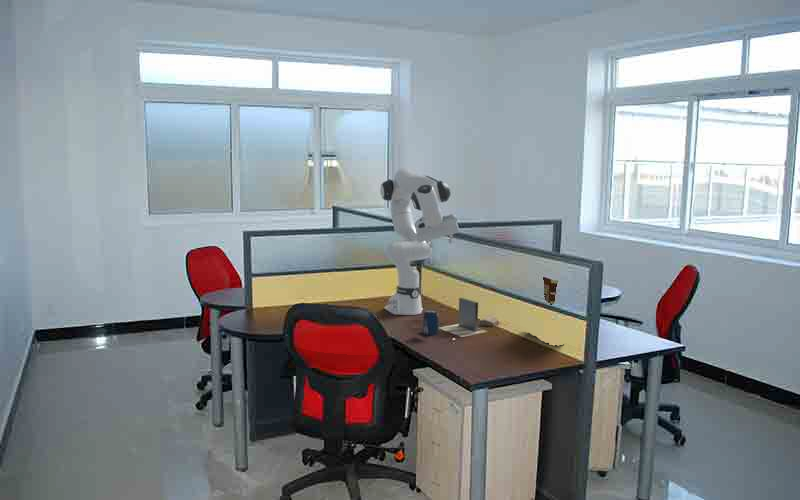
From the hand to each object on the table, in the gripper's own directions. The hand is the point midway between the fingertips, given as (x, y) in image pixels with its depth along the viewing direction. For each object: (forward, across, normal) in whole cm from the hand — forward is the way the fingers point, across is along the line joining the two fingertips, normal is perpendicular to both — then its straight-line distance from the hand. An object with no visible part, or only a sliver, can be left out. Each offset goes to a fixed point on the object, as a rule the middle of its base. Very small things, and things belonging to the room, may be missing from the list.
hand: (441, 245), depth 299 cm
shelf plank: (+40, 0, +16) cm, 43 cm away
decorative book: (+49, -37, +24) cm, 65 cm away
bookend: (+40, -4, +13) cm, 43 cm away
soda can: (+34, +14, +22) cm, 43 cm away
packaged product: (+49, -14, +3) cm, 51 cm away
